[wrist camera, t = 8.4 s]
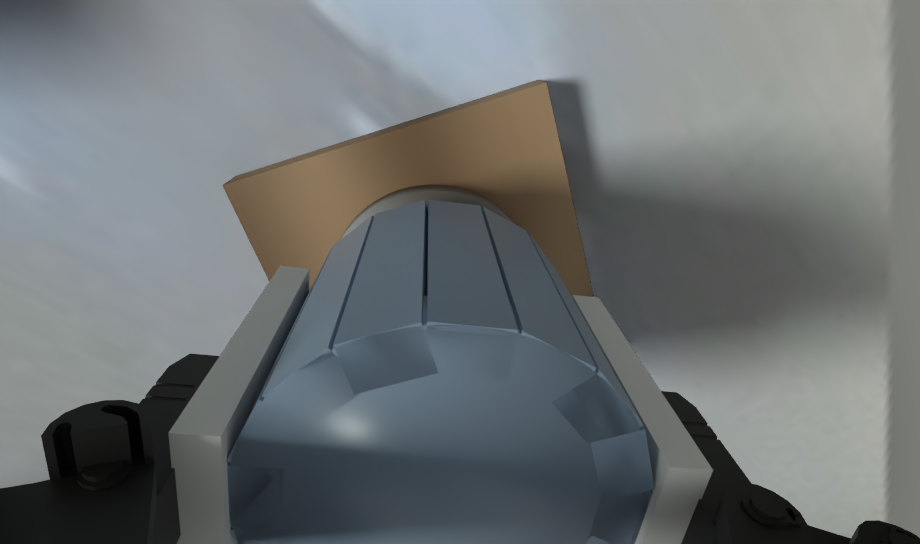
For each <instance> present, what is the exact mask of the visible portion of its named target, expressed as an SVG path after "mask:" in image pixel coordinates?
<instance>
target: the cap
mask: <svg viewBox="0 0 920 544" xmlns="http://www.w3.org/2000/svg"><path fill="white" fill-rule="evenodd" d="M227 461H228V465H227V474H228V498H229V521H230V527H231V529H230V532H231V534H232V536H233V537H234V539H235V541H236V542H237V544H635V542H636V539H637V536H638V534H639V531H640V528H641V525H642V522H643V519H644V517H645V514H646V511H647V508H648V505H649V503H650V500H651V497H652V494H653V492H652V489H654V482H653V476H652V470H651V463H650V457H649V451H648V444H647V438H646V432H645V428H644V426H643V424H642V422H641V420H640V418H639V417H638V415H637V413H636V411H635V409H634V408H633V406H632V404H631V402H630V400H629V399H628V397H627V395H626V393H625V392H624V390H623V388H622V386H621V384H620V383H619V381H618V379H617V377H616V375H615V374H614V372H613V370H612V368H611V366H610V365H609V363H608V361H607V359H606V357H605V356H604V354H603V352H602V350H601V349H600V347H599V345H598V343H597V341H596V340H595V338H594V336H593V334H592V332H591V331H590V329H589V327H588V325H587V323H586V322H585V320H584V318H583V316H582V314H581V313H580V311H579V309H578V307H577V305H576V304H575V302H574V300H573V298H572V297H571V295H570V293H569V291H568V289H567V288H566V286H565V284H564V282H563V280H562V279H561V277H560V275H559V273H558V271H557V270H556V268H555V267H554V265H553V264H552V263H551V261H550V260H549V259H548V258H547V256H546V255H545V254H544V252H543V251H542V250H541V248H540V247H539V246H538V244H537V243H536V242H535V240H534V239H533V238H532V236H531V235H530V234H529V233H527V231H526V230H524V229H523V228H521V227H519V226H517V225H515V224H514V223H512V222H510V221H508V220H506V219H505V218H503V217H501V216H499V215H497V214H496V213H494V212H492V211H490V210H488V209H487V208H485V207H483V208H482V209H481V207H480V206H479V205H471V204H462V203H454V202H445V201H436V200H429V201H428V208H427V204H426V201H425V200H423V201H419V202H416V203H412V204H408V205H405V206H401V207H397V208H394V209H390V210H386V211H383V212H379V213H375V216H373V215H372V216H370V217H369V218H368V219H367V220H365V221H364V222H363V223H361V224H360V225H359V226H358V227H356V228H355V229H354V230H352V231H351V232H350V233H349V234H347V235H346V236H345V237H344V238H342V239H341V240H340V241H338V242H337V243H336V244H335V245H334V246H333V248H331V250H330V252H329V254H328V256H327V258H326V259H325V261H324V263H323V265H322V267H321V269H320V271H319V273H318V275H317V277H316V279H315V281H314V283H313V285H312V286H311V288H310V290H309V292H308V295H307V297H306V299H305V301H304V303H303V305H302V307H301V309H300V311H299V313H298V315H297V317H296V319H295V321H294V323H293V325H292V327H291V329H290V331H289V333H288V336H287V338H286V340H285V342H284V344H283V346H282V348H281V350H280V352H279V354H278V356H277V358H276V360H275V362H274V364H273V366H272V368H271V370H270V372H269V374H268V377H267V379H266V381H265V383H264V385H263V387H262V389H261V391H260V393H259V395H258V397H257V399H256V401H255V403H254V405H253V407H252V409H251V411H250V413H249V415H248V418H247V420H246V422H245V424H244V426H243V428H242V430H241V432H240V434H239V436H238V438H237V440H236V442H235V444H234V446H233V448H232V450H231V452H230V454H229V457H228V459H227Z"/></svg>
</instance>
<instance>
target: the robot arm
mask: <svg viewBox="0 0 920 544" xmlns="http://www.w3.org/2000/svg"><path fill="white" fill-rule="evenodd" d="M309 273H310V268H300V267H290V266H280V267H279V268H278V269H277V271H276V272H275V274H274V275H273V277H272V278H271V280H270V281H269V283H268V284H267V286H266V287H265V289H264V290H263V292H262V293H261V295H260V296H259V298H258V299H257V301H256V302H255V304H254V305H253V307H252V308H251V310H250V311H249V313H248V314H247V316H246V317H245V319H244V320H243V322H242V323H241V325H240V326H239V328H238V329H237V331H236V332H235V334H234V335H233V337H232V338H231V340H230V341H229V343H228V344H227V346H226V347H225V349H224V350H223V352H222V353H221V355H220V356H211V355H199V354H189V355H187V356H186V357H184V358H182V359H181V360H179V361H177V362H176V363H174V364H172V365H171V366H169V367H168V368H167V370H166V371H165V372H164V373H163V375H162V376H161V377H160V378H159V380H158V381H157V382H156V386H153V387H152V388H151V390H150V391H149V392H148V393H147V395H146V398H145V399H142V401H141V402H140V403H139V404H137V403H133V402H129V401H125V400H107V401H100V402H95V403H91V404H86V405H83V406H80V407H78V408H76V409H73V410H71V411H68V412H66V413H64V414H63V415H61V416H60V417H59V418H57V419H56V420H54V421H53V422H52V423H50V424H49V426H48V427H47V428H46V430H45V431H44V433H43V434H42V435H41V437H42V442H43V447H44V452H45V457H46V461H47V466H48V471H49V476H50V480H46V481H42V482H37V483H32V484H26V485H20V486H14V487H8V488H1V489H0V544H176V543H177V541H179V544H235V542H236V541H235V539H234V537H233V536H232V534H231V532H230V529H231V527H230V521H229V498H228V474H227V465H228V461H227V459H228V457H229V454H230V452H231V450H232V448H233V446H234V444H235V442H236V440H237V438H238V436H239V434H240V432H241V430H242V428H243V426H244V424H245V422H246V420H247V418H248V415H249V413H250V411H251V409H252V407H253V405H254V403H255V401H256V399H257V397H258V395H259V393H260V391H261V389H262V387H263V385H264V383H265V381H266V379H267V377H268V374H269V372H270V370H271V368H272V366H273V364H274V362H275V360H276V358H277V356H278V354H279V352H280V350H281V348H282V346H283V344H284V342H285V340H286V338H287V336H288V333H289V331H290V329H291V327H292V325H293V323H294V321H295V319H296V317H297V315H298V313H299V311H300V309H301V307H302V305H303V303H304V301H305V299H306V297H307V295H308V292H309ZM572 298H573V300H574V302H575V304H576V305H577V307H578V309H579V311H580V313H581V314H582V316H583V318H584V320H585V322H586V323H587V325H588V327H589V329H590V331H591V332H592V334H593V336H594V338H595V340H596V341H597V343H598V345H599V347H600V349H601V350H602V352H603V354H604V356H605V357H606V359H607V361H608V363H609V365H610V366H611V368H612V370H613V372H614V374H615V375H616V377H617V379H618V381H619V383H620V384H621V386H622V388H623V390H624V392H625V393H626V395H627V397H628V399H629V400H630V402H631V404H632V406H633V408H634V409H635V411H636V413H637V415H638V417H639V418H640V420H641V422H642V424H643V426H644V428H645V432H646V438H647V444H648V451H649V457H650V463H651V470H652V476H653V482H654V489H652V492H653V494H652V497H651V500H650V503H649V505H648V508H647V511H646V514H645V517H644V519H643V522H642V525H641V528H640V531H639V534H638V536H637V539H636V542H635V544H920V538H919V537H918V536H916V535H914V534H913V533H911V532H909V531H907V530H904V529H903V528H900V527H898V526H896V525H892V524H889V523H885V522H882V521H865V522H863V523H862V524H860V525H859V526H858V528H857V529H856V531H855V533H854V535H853V536H852V538H847V537H844V536H841V535H837V534H834V533H831V532H828V531H824V530H821V529H818V528H815V527H811V526H809V525H807V523H806V522H805V520H804V518H803V517H802V515H801V513H800V512H799V511H798V510H797V509H796V508H795V507H794V506H793V505H792V504H791V503H789V502H788V501H787V500H785V499H784V498H782V497H781V496H779V495H778V494H776V493H775V492H773V491H771V490H768V489H766V488H763V487H761V486H759V485H755V484H751V482H750V481H749V480H748V478H747V477H746V476H745V474H744V473H743V471H742V470H741V469H740V467H739V466H738V465H737V463H736V462H735V460H734V459H733V458H732V456H731V455H730V454H729V452H728V451H727V450H726V448H725V447H724V445H723V444H722V443H721V441H720V440H717V436H716V434H715V433H714V432H713V430H712V429H711V428H710V426H707V422H706V421H705V419H704V418H703V417H702V415H701V414H700V413H699V411H698V410H697V408H696V407H695V406H693V405H692V404H691V403H690V402H688V401H687V400H686V399H685V398H683V397H682V396H681V395H679V394H678V393H676V392H664V391H660V389H659V388H658V386H657V385H656V383H655V382H654V380H653V379H652V377H651V376H650V374H649V373H648V371H647V370H646V368H645V367H644V365H643V364H642V362H641V361H640V359H639V358H638V356H637V355H636V353H635V352H634V350H633V349H632V347H631V345H630V344H629V342H628V341H627V339H626V338H625V336H624V335H623V333H622V332H621V330H620V329H619V327H618V326H617V324H616V323H615V321H614V320H613V318H612V317H611V315H610V314H609V312H608V311H607V309H606V308H605V306H604V305H603V303H602V302H601V300H600V299H599V297H589V296H579V295H572Z"/></svg>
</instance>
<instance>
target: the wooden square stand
mask: <svg viewBox="0 0 920 544" xmlns="http://www.w3.org/2000/svg"><path fill="white" fill-rule="evenodd" d="M223 187H224V189H225V191H226V194H227V196H228V198H229V200H230V202H231V204H232V206H233V208H234V210H235V212H236V214H237V216H238V218H239V220H240V222H241V224H242V226H243V228H244V230H245V232H246V234H247V237H248V239H249V241H250V243H251V245H252V247H253V249H254V251H255V253H256V255H257V257H258V259H259V261H260V263H261V265H262V267H263V269H264V271H265V273H266V275H267V277H268V280H269V281H270V280H271V278H272V277H273V275H274V274H275V272H276V271H277V269H278V268H279V267H280V266H290V267H300V268H310V273H309V290H310V288H311V286H312V285H313V283H314V281H315V279H316V277H317V275H318V273H319V271H320V269H321V267H322V265H323V263H324V261H325V259H326V258H327V256H328V254H329V252H330V250H331V248H333V246H334V245H335V244H336V243H337V242H338V241H340V240H341V239H342V238H344V237H345V236H346V235H347V234H349V233H350V232H351V231H352V230H354V229H355V228H356V227H358V226H359V225H360V224H361V223H363V222H364V221H365V220H367V219H368V218H369V217H370V216H372V215H373V216H375V213H379V212H383V211H386V210H390V209H394V208H397V207H401V206H405V205H408V204H412V203H416V202H419V201H423V200H425V201H426V204H427V208H428V201H429V200H436V201H445V202H454V203H462V204H471V205H479V206H480V207H481V209H482V208H483V207H485V208H487V209H488V210H490V211H492V212H494V213H496V214H497V215H499V216H501V217H503V218H505V219H506V220H508V221H510V222H512V223H514V224H515V225H517V226H519V227H521V228H523V229H524V230H526V231H527V233H529V234H530V235H531V236H532V238H533V239H534V240H535V242H536V243H537V244H538V246H539V247H540V248H541V250H542V251H543V252H544V254H545V255H546V256H547V258H548V259H549V260H550V261H551V263H552V264H553V265H554V267H555V268H556V270H557V271H558V273H559V275H560V277H561V279H562V280H563V282H564V284H565V286H566V288H567V289H568V291H569V293H570V295H571V297H572V295H579V296H589V297H594V295H593V291H592V286H591V282H590V277H589V273H588V268H587V264H586V259H585V255H584V250H583V246H582V241H581V237H580V232H579V227H578V223H577V218H576V214H575V209H574V205H573V200H572V196H571V191H570V187H569V182H568V178H567V173H566V169H565V164H564V159H563V155H562V150H561V146H560V141H559V137H558V132H557V128H556V123H555V119H554V114H553V110H552V105H551V101H550V96H549V92H548V87H547V82H544V81H541V80H536V81H533V82H530V83H527V84H524V85H521V86H517V87H514V88H511V89H508V90H505V91H502V92H499V93H495V94H492V95H489V96H486V97H483V98H480V99H477V100H473V101H470V102H467V103H464V104H461V105H458V106H455V107H451V108H448V109H445V110H442V111H439V112H436V113H433V114H429V115H426V116H423V117H420V118H417V119H414V120H411V121H408V122H404V123H401V124H398V125H395V126H392V127H389V128H386V129H382V130H379V131H376V132H373V133H370V134H367V135H364V136H360V137H357V138H354V139H351V140H348V141H345V142H342V143H338V144H335V145H332V146H329V147H326V148H323V149H320V150H316V151H313V152H310V153H307V154H304V155H301V156H298V157H294V158H291V159H288V160H285V161H282V162H279V163H276V164H272V165H269V166H266V167H263V168H260V169H257V170H254V171H250V172H247V173H244V174H241V175H238V176H235V177H234V178H232V179H231V180H229V181H228V182H227V183H225V184H224V185H223Z"/></svg>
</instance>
